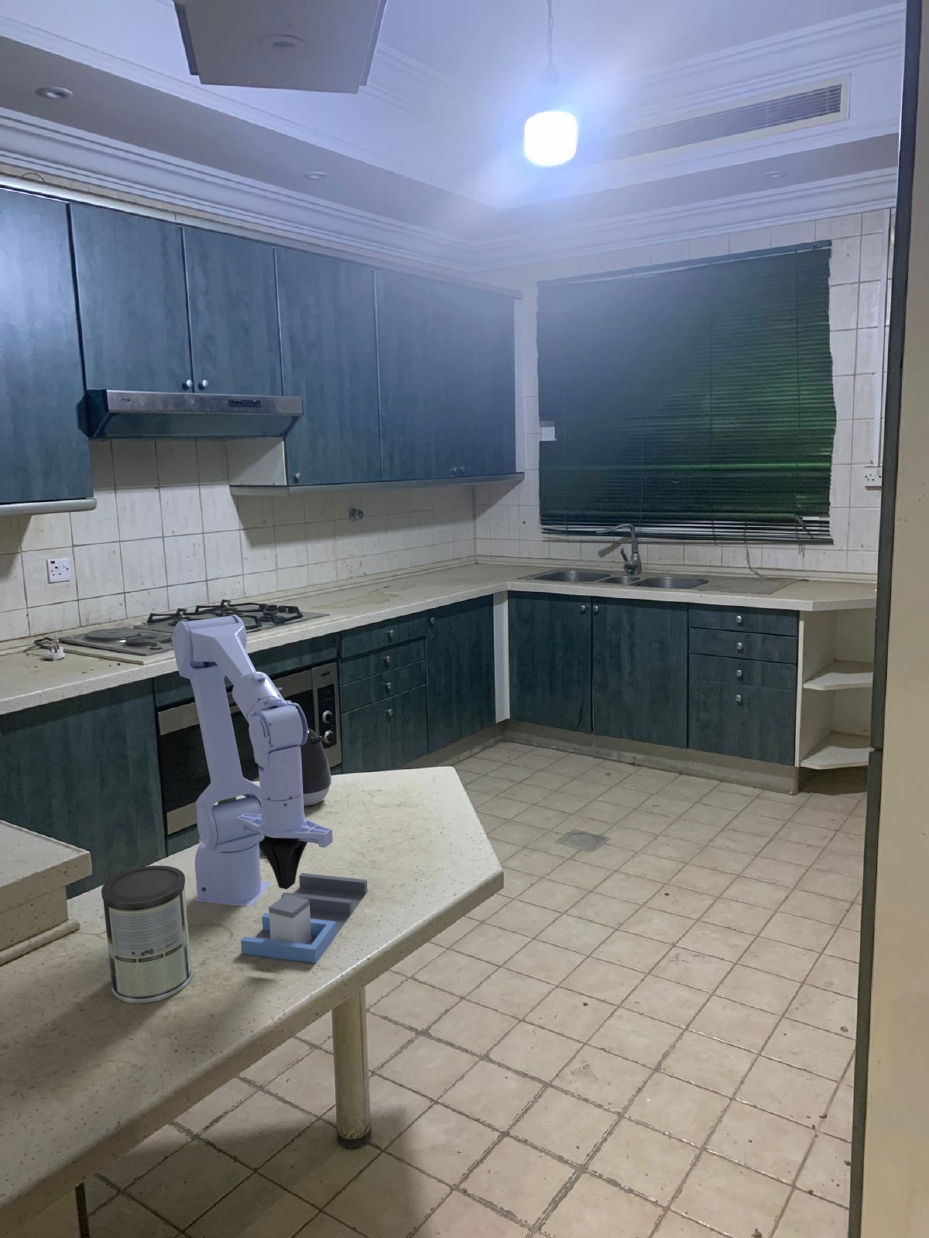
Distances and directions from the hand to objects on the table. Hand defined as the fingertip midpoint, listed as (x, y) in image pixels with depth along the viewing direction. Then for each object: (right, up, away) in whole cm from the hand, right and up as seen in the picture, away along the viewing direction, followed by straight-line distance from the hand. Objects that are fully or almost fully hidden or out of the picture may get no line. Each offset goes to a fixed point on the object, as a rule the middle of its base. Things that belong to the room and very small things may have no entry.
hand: (286, 885), depth 127 cm
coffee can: (-17, -11, -6) cm, 21 cm away
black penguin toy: (-7, +1, +54) cm, 55 cm away
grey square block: (0, -9, +2) cm, 9 cm away
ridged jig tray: (+2, -8, +8) cm, 11 cm away
